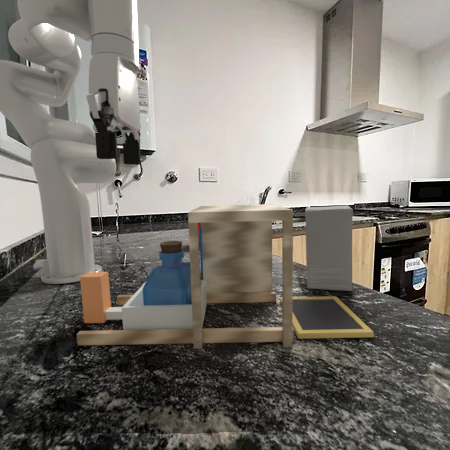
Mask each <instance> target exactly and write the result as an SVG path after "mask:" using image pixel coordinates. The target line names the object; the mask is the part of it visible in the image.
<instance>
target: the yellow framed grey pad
mask: <svg viewBox="0 0 450 450" xmlns="http://www.w3.org/2000/svg"><path fill="white" fill-rule="evenodd" d="M279 302H280V304H281V305H282V296H281V297H280V298H279ZM292 327H293V329H294V334H295V336H296V337H297V339H302V340H303V339H345V338H347V339H349V338H353V339H354V338H374V337H375V336H374V333H375V332H374V330H372V329H371V328H370V327H369V326H368V325H367V324H366V323H365V322H363V320H362V319H360V317H359V316H357V315H356V313H354V312H353V310H351V309H350V308H349V307H348V306H347V305H346V304H345V303H344V302H342V300H341V299H339V298H338V297H337V296H333V295H332V296H293V311H292Z"/></svg>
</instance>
